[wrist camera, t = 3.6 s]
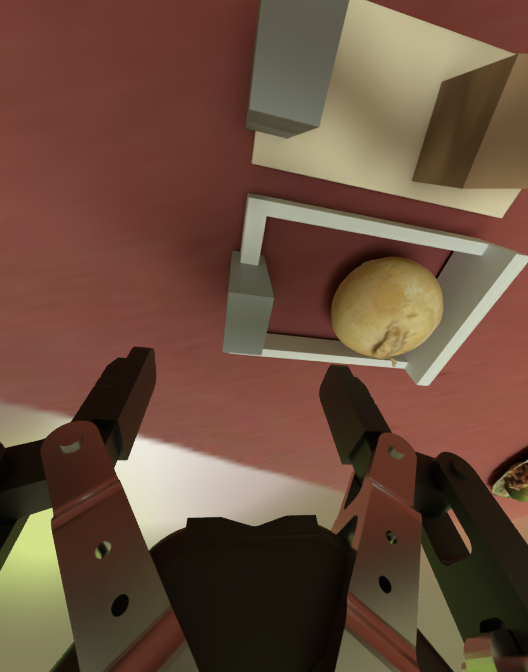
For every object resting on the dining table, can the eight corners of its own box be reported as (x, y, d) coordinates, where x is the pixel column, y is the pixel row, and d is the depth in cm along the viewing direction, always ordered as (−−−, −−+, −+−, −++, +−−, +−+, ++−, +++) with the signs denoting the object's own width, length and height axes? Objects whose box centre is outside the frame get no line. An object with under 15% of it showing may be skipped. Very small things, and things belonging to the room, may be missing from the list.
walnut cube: (441, 81, 13) (518, 53, 10) (520, 83, 13) (623, 57, 10) (411, 181, 16) (462, 188, 12) (477, 181, 16) (546, 188, 12)
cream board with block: (260, -21, 12) (289, -260, 5) (569, 87, 15) (842, 29, 8) (241, 161, 15) (243, 164, 9) (488, 215, 19) (624, 247, 12)
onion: (333, 245, 19) (373, 283, 13) (429, 248, 20) (505, 285, 14) (315, 330, 24) (339, 385, 18) (393, 330, 25) (440, 383, 19)
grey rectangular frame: (238, 190, 16) (237, 209, 10) (476, 237, 19) (575, 271, 14) (223, 336, 23) (217, 395, 17) (401, 353, 26) (446, 408, 20)
